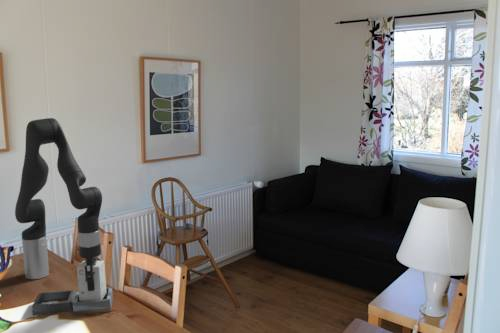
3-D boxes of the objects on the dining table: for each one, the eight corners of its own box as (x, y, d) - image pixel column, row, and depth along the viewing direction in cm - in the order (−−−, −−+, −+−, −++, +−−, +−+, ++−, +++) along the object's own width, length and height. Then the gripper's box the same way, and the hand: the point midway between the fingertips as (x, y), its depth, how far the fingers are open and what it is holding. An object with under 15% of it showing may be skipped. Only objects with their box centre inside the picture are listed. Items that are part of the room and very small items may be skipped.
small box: (106, 293, 166) (104, 260, 164) (101, 301, 160) (99, 266, 158) (85, 293, 166) (83, 260, 164) (78, 301, 160) (76, 266, 158)
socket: (39, 301, 167) (39, 293, 167) (75, 298, 170) (74, 289, 169) (32, 315, 156) (31, 306, 156) (70, 311, 159) (69, 302, 159)
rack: (77, 300, 168) (76, 290, 167) (113, 296, 171) (112, 286, 170) (72, 315, 156) (71, 304, 156) (111, 311, 159) (110, 300, 158)
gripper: (81, 237, 166) (84, 279, 168) (75, 250, 152) (78, 295, 155) (102, 235, 167) (104, 277, 170) (98, 248, 154) (101, 293, 156)
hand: (92, 286), depth 162 cm, fingers closed on small box, 7 cm apart
